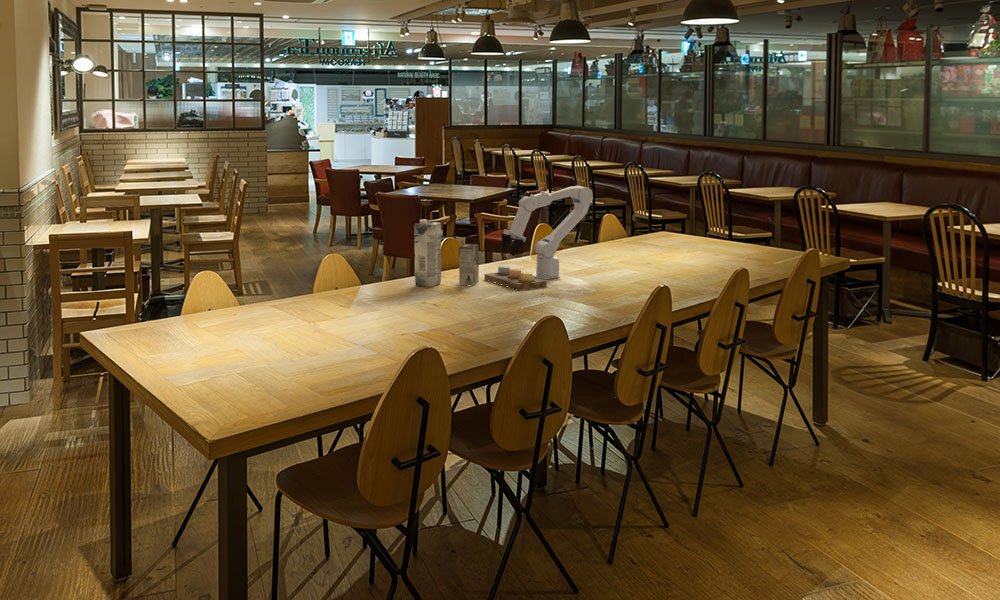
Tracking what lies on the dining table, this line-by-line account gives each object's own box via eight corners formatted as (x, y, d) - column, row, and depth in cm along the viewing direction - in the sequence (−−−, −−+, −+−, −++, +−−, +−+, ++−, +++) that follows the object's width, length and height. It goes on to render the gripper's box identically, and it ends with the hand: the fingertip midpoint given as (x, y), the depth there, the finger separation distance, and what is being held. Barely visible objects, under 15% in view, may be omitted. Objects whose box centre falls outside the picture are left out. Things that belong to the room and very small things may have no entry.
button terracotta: (516, 276, 371) (516, 268, 370) (523, 278, 367) (523, 270, 366) (506, 277, 368) (506, 269, 367) (513, 279, 364) (513, 271, 363)
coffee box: (464, 281, 371) (464, 243, 368) (478, 281, 370) (479, 244, 367) (458, 285, 363) (458, 246, 359) (474, 286, 361) (474, 247, 358)
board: (511, 276, 382) (512, 270, 382) (546, 286, 361) (546, 280, 360) (484, 279, 375) (484, 273, 374) (518, 290, 354) (518, 284, 353)
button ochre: (528, 279, 364) (528, 272, 363) (535, 281, 360) (535, 273, 359) (518, 281, 361) (518, 273, 360) (524, 283, 357) (525, 275, 356)
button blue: (505, 273, 378) (505, 265, 377) (512, 275, 374) (512, 267, 373) (495, 274, 375) (496, 266, 374) (502, 276, 371) (502, 268, 370)
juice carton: (443, 283, 366) (443, 218, 360) (431, 288, 356) (430, 221, 351) (425, 281, 369) (424, 217, 364) (412, 286, 360) (411, 220, 354)
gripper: (521, 224, 380) (509, 254, 381) (503, 216, 368) (491, 247, 369) (534, 229, 376) (522, 259, 377) (516, 221, 364) (504, 252, 365)
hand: (507, 253), depth 372 cm, fingers open, 7 cm apart
